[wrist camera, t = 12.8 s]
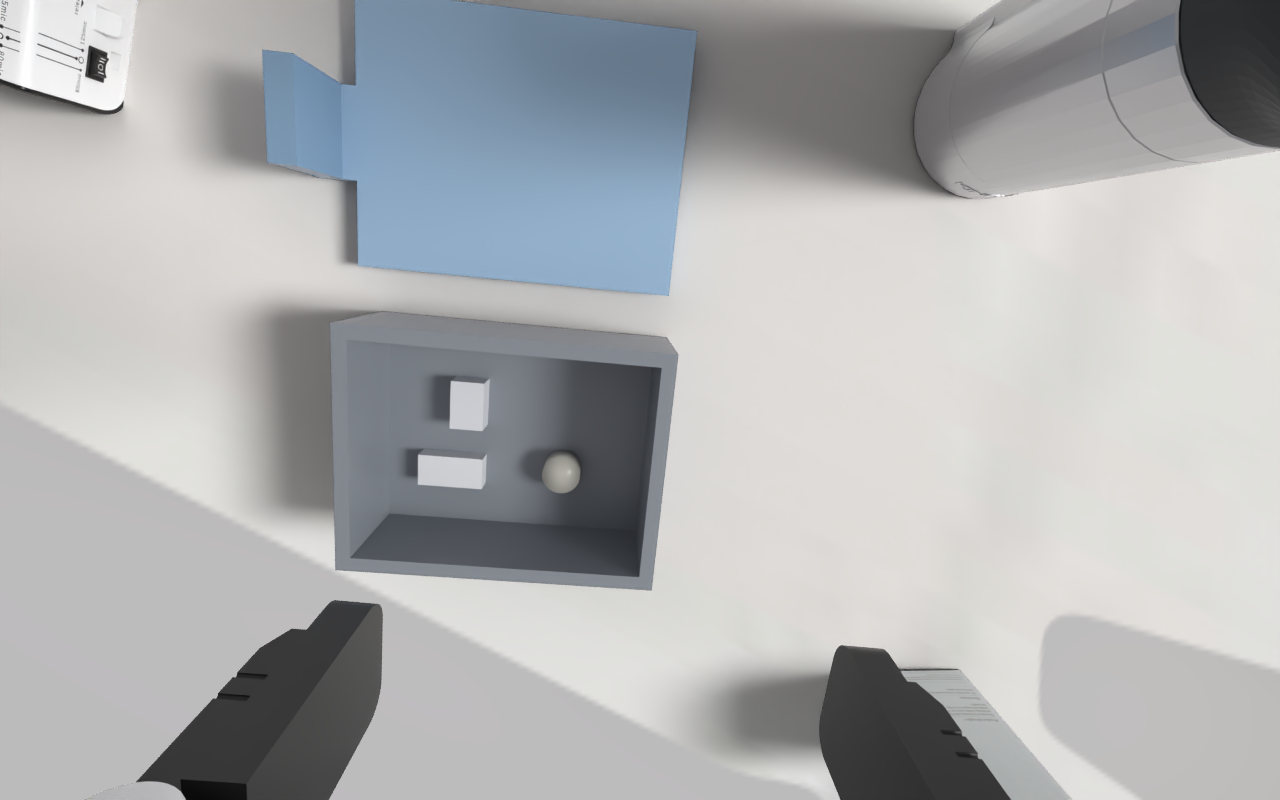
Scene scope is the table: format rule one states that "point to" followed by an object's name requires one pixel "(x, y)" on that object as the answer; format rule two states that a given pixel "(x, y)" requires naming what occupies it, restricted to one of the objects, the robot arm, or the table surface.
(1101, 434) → the table surface
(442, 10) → the tub lid
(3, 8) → the laminator
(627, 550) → the parts tub
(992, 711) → the supplement box
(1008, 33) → the robot arm
